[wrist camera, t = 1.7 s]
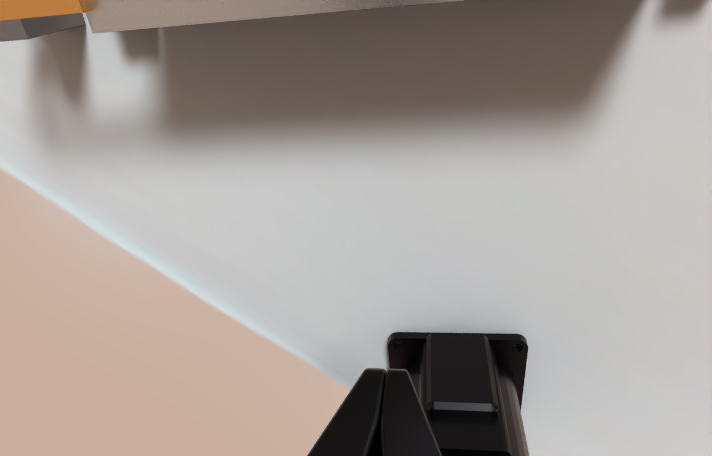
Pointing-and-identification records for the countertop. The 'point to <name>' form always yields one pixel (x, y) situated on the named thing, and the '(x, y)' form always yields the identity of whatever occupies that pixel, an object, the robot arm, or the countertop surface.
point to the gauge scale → (37, 26)
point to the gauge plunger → (182, 10)
